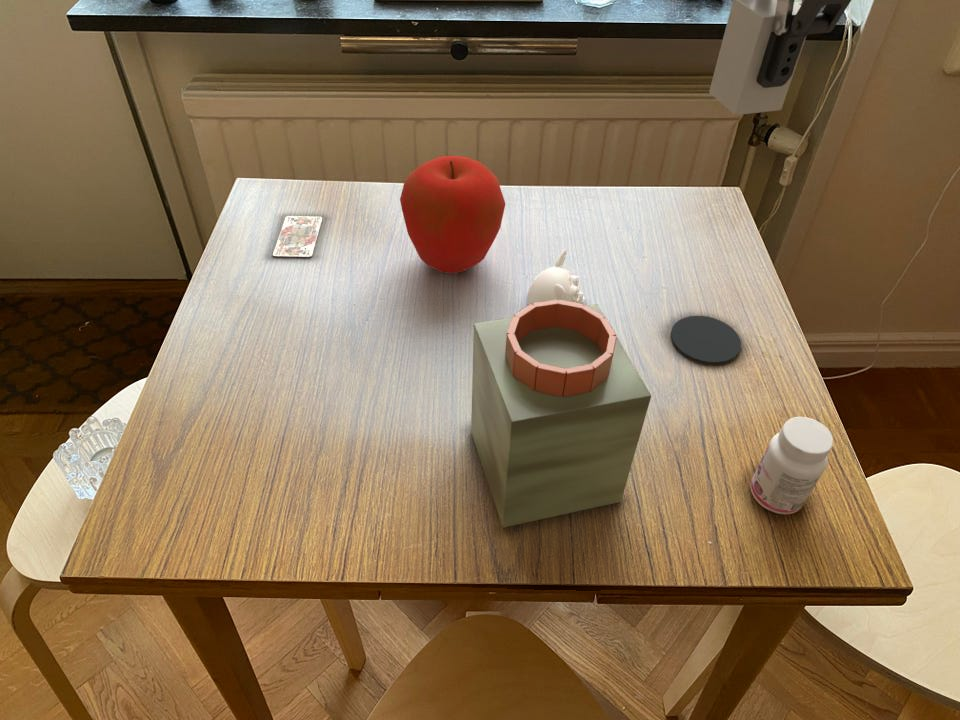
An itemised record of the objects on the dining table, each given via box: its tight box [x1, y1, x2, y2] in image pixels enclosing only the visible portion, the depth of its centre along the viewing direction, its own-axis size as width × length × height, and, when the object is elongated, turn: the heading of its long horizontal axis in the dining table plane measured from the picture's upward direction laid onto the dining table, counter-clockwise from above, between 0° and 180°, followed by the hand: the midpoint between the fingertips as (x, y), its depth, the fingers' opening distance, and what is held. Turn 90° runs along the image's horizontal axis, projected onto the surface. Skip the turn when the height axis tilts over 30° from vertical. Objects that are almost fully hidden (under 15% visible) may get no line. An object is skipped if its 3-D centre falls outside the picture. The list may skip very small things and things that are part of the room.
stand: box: [470, 303, 652, 528], centre depth 61 cm, size 11×11×14 cm
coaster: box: [670, 315, 742, 366], centre depth 78 cm, size 8×8×1 cm
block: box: [708, 0, 807, 116], centre depth 52 cm, size 4×4×7 cm
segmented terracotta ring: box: [505, 300, 618, 397], centre depth 55 cm, size 8×8×2 cm
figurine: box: [526, 249, 586, 307], centre depth 79 cm, size 8×6×7 cm
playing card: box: [272, 215, 323, 258], centre depth 90 cm, size 9×5×1 cm, turn 0°
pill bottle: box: [750, 416, 834, 515], centre depth 61 cm, size 5×5×8 cm
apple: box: [399, 155, 506, 274], centre depth 82 cm, size 12×12×14 cm
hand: (753, 70), depth 53 cm, fingers closed on block, 4 cm apart
